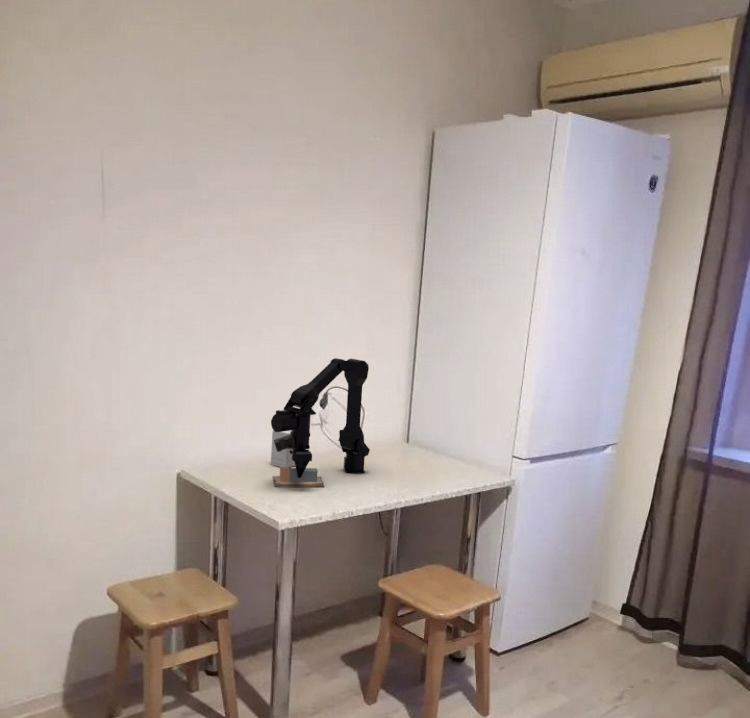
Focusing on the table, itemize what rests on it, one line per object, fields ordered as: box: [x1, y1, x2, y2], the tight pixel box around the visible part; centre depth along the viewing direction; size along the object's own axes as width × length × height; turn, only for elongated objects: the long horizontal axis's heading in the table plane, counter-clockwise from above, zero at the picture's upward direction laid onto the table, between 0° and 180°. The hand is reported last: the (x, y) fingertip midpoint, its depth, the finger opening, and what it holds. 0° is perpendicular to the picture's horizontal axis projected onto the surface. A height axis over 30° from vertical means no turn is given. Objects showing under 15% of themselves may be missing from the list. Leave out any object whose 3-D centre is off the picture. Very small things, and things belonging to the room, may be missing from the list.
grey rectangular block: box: [279, 467, 319, 482], centre depth 234 cm, size 12×4×4 cm, turn 101°
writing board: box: [272, 475, 325, 488], centre depth 234 cm, size 16×11×1 cm
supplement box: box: [270, 429, 295, 468], centre depth 254 cm, size 7×7×13 cm
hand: (298, 475), depth 234 cm, fingers open, 5 cm apart
